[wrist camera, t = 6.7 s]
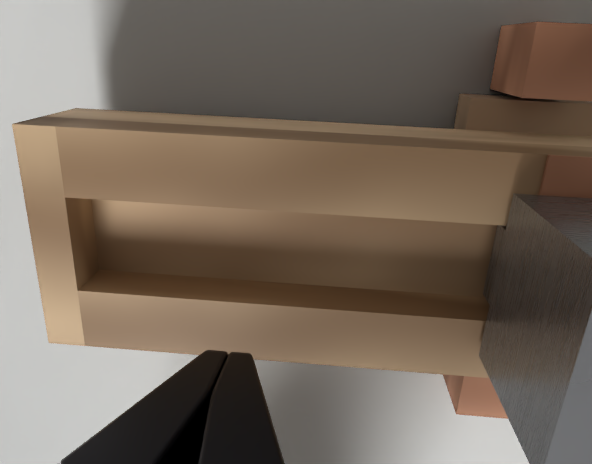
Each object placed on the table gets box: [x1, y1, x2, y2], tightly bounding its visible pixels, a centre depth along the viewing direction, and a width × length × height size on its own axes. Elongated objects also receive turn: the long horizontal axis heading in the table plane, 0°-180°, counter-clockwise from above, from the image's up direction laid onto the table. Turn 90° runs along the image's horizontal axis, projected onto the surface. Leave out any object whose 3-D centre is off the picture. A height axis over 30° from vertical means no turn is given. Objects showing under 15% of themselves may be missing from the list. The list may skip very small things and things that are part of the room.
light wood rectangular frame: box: [12, 22, 592, 419], centre depth 16 cm, size 13×30×5 cm, turn 88°
